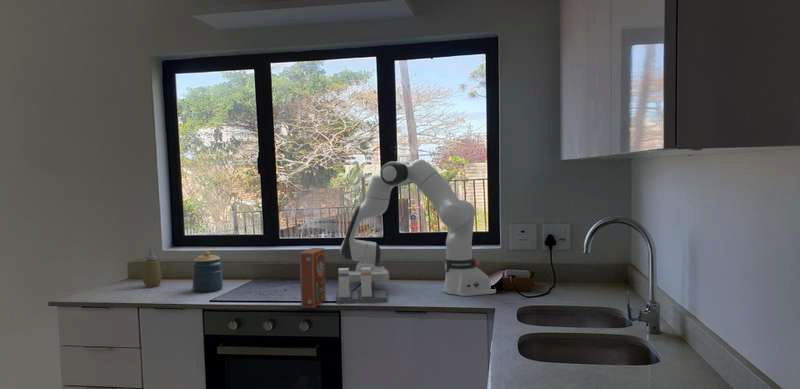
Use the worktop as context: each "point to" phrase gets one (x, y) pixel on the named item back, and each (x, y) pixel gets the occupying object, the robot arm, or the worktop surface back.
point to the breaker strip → (355, 296)
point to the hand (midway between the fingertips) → (365, 280)
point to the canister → (207, 273)
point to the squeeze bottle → (152, 271)
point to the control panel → (312, 277)
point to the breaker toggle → (366, 281)
